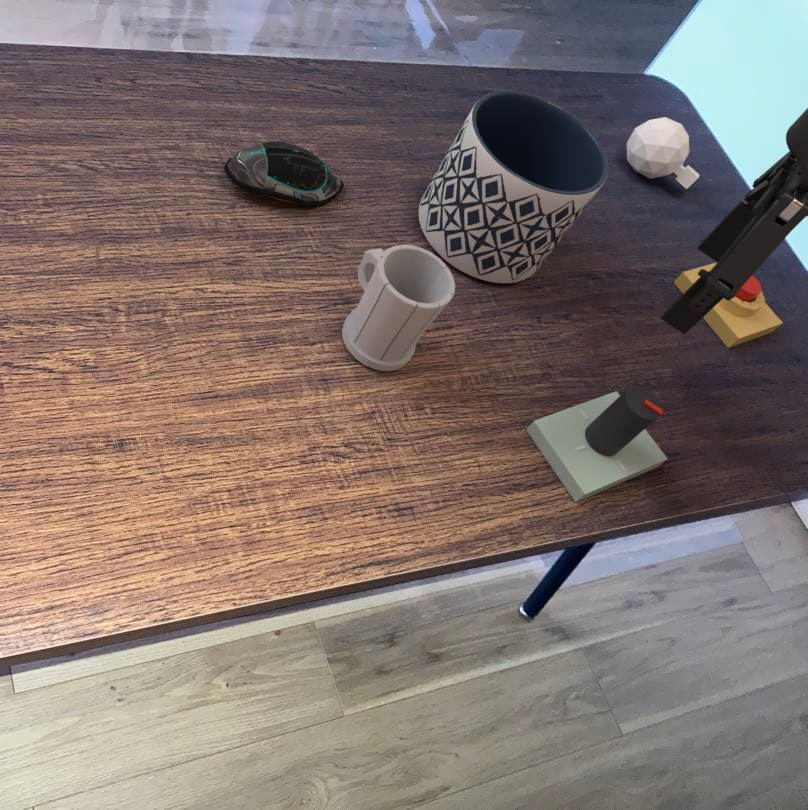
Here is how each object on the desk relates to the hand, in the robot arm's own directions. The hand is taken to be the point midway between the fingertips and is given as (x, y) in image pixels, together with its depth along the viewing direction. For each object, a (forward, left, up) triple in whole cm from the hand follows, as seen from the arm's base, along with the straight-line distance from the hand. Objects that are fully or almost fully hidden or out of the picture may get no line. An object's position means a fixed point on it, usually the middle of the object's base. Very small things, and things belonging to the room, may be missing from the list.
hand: (691, 288), depth 92 cm
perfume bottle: (+31, -42, -22) cm, 57 cm away
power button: (+6, -35, -18) cm, 40 cm away
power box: (+6, -35, -22) cm, 42 cm away
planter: (+27, -4, -22) cm, 35 cm away
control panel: (-6, +2, -22) cm, 23 cm away
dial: (-6, +2, -20) cm, 21 cm away
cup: (+16, +21, -22) cm, 35 cm away
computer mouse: (+41, +20, -22) cm, 51 cm away
